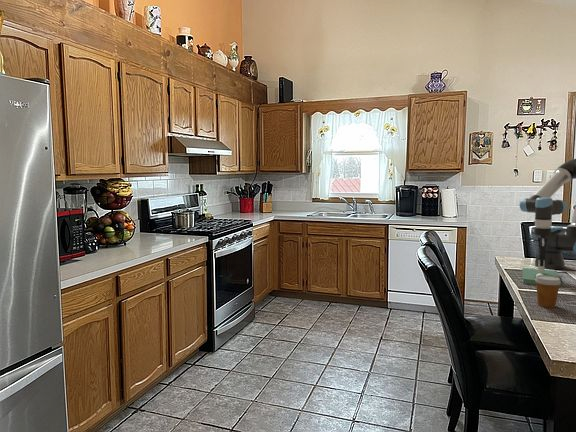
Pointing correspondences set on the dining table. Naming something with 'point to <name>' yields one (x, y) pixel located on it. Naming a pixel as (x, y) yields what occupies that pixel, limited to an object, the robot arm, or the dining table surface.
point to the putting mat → (530, 275)
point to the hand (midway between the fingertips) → (541, 271)
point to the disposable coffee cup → (547, 290)
